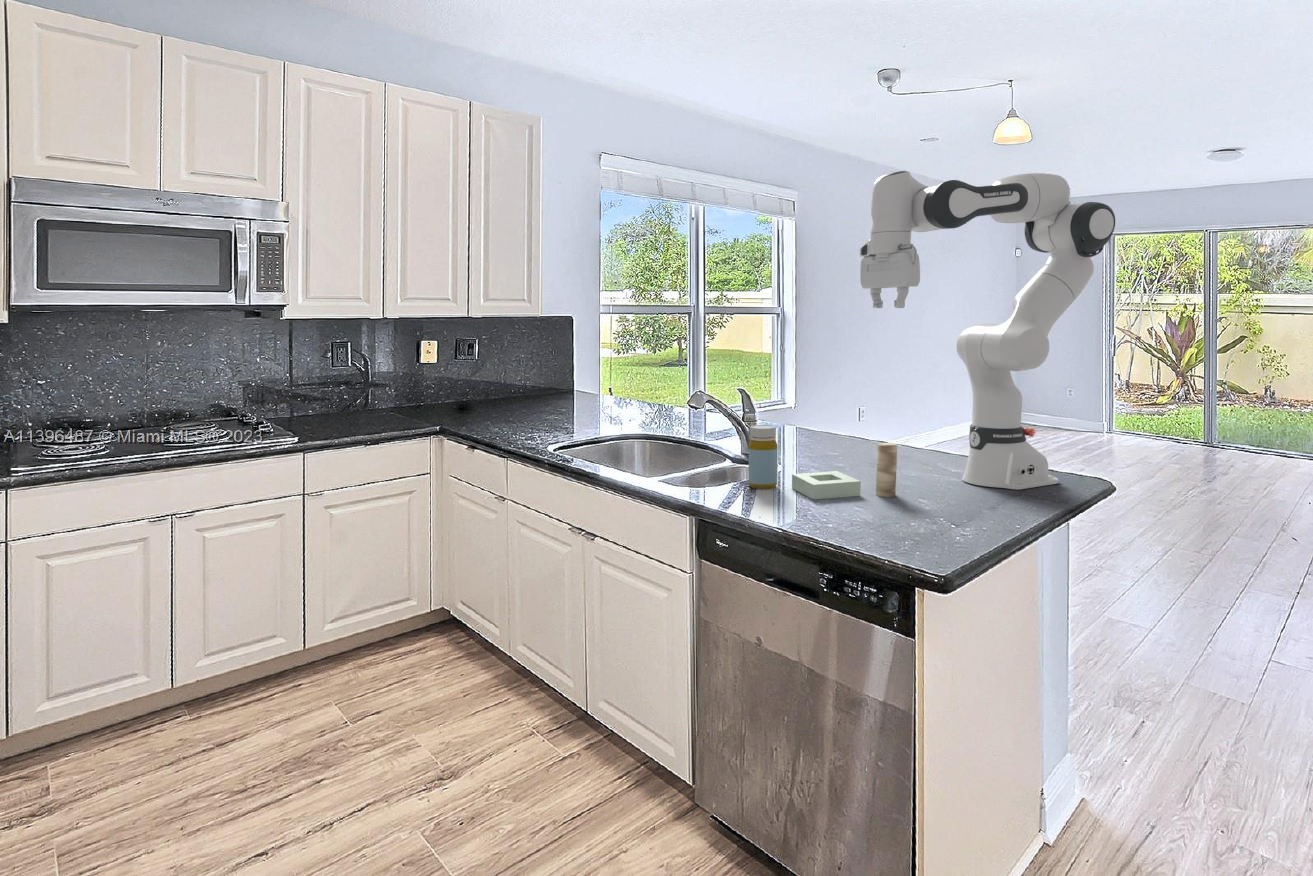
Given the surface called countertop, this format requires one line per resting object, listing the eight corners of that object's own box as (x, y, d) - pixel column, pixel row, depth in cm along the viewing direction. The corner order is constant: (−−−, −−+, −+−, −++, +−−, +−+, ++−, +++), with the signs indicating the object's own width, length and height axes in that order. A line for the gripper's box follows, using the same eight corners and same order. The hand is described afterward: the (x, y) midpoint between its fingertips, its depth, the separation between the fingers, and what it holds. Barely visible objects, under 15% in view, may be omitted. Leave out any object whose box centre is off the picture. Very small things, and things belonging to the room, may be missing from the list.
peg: (889, 492, 185) (890, 442, 183) (899, 496, 181) (900, 445, 179) (872, 493, 184) (873, 443, 182) (882, 497, 180) (883, 446, 178)
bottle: (758, 482, 198) (758, 423, 196) (782, 485, 194) (782, 426, 191) (743, 487, 193) (743, 427, 190) (767, 491, 188) (768, 429, 186)
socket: (836, 484, 194) (836, 470, 193) (860, 495, 182) (860, 481, 182) (791, 488, 191) (792, 474, 190) (813, 499, 179) (813, 484, 179)
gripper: (929, 242, 167) (926, 307, 170) (879, 249, 187) (878, 307, 189) (902, 242, 166) (900, 308, 168) (856, 249, 185) (854, 308, 188)
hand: (888, 308), depth 179 cm, fingers open, 8 cm apart
